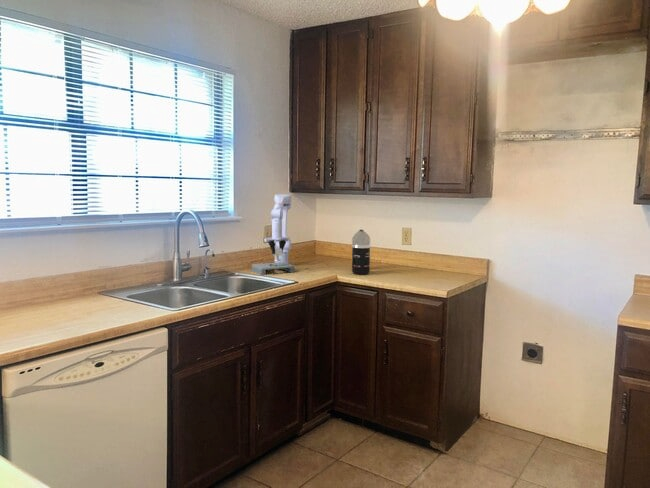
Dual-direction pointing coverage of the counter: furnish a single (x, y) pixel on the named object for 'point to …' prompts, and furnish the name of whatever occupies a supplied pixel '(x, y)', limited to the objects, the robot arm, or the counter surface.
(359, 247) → the black and grey bottle
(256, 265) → the keyhole plate
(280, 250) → the peg
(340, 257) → the counter surface
